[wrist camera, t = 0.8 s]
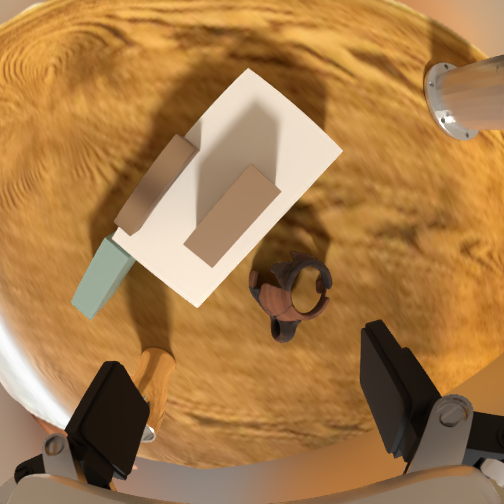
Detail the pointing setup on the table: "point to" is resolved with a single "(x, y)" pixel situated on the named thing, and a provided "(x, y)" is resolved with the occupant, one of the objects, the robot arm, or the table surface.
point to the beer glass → (154, 386)
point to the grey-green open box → (102, 277)
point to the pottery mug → (289, 295)
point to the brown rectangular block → (155, 184)
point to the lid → (230, 187)
